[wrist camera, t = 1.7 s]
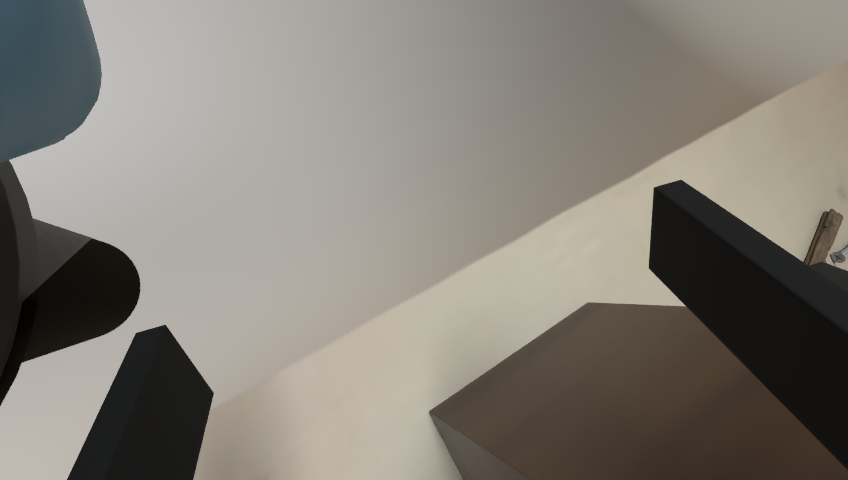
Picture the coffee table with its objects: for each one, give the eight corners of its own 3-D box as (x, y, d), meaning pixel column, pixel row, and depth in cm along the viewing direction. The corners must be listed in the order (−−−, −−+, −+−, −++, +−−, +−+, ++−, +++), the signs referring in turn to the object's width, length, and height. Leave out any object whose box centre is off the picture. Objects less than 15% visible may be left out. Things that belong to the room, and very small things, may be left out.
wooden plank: (834, 218, 43) (822, 208, 43) (846, 215, 42) (834, 206, 42) (788, 341, 39) (775, 332, 39) (800, 341, 38) (786, 331, 38)
